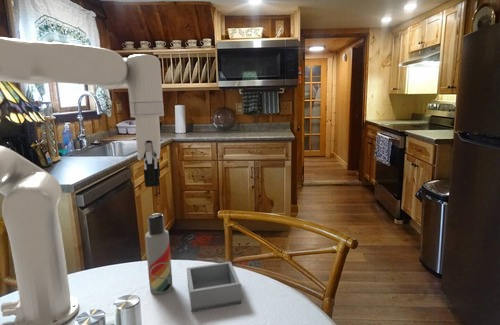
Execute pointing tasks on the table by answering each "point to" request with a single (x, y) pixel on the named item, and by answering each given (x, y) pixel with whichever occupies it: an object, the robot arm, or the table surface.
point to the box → (213, 286)
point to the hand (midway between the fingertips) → (153, 181)
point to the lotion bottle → (158, 255)
